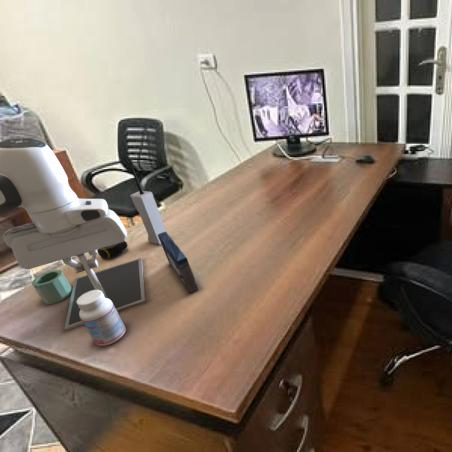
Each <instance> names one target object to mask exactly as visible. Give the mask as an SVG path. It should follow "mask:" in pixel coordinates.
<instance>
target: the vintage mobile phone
mask: <svg viewBox="0 0 452 452" xmlns="http://www.w3.org/2000/svg"><path fill="white" fill-rule="evenodd" d="M130 170H131V172H132V175H133V178H134V180H135V183H136V186H137V188H138V191H136V192H134V193H132V194H130V199H131V201H132V202H133V203H132V204H134V207H135V209H136V211H137V212H138V214H139V216H140V219H141V221H142V224H143V226H144V228H145V231H146V233H147V240H148V242H149V243H150V244H155V245H160V246H162V245H161V242H160V240H159V237H158V234H160V233H163V232H167V229H166V226H165V224H164V221H163V218H162V216H161V214H160V211H159V208H158V205H157V202H156V200H155V197H154V194H153V192H151V191H146V190H143V188H142V186H141V183H140V180H139V179H138V177H137V174H136V172H135V169H134V167H130Z"/></svg>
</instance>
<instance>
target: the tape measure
mask: <svg viewBox="0 0 452 452" xmlns="http://www.w3.org/2000/svg"><path fill="white" fill-rule="evenodd" d="M128 246H129V245H128V243H127V241H126V240H125V241H124V242H120V243H117V244H114V245H110V246H107V247H103V248H100V249H97V254H98V255H99V257H100V258H102V259H110V258H111V259H112V258H114V257H117V256H119V255H121V254H122V253H123V252H124V251H125V250H127V248H128Z"/></svg>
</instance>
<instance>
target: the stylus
mask: <svg viewBox="0 0 452 452" xmlns="http://www.w3.org/2000/svg"><path fill="white" fill-rule="evenodd" d="M75 257H77V259H78V261H79V262H80V263H81V264H82V266H83V268H84V270H85V271H84V272H85V274H86V275H88V277H89V279H90V281H91V283H92V284H93V286H94V288H95V290H100V291H102V293H103V294H104V296H105V298H106V297H107V295H106V293H105V292H104V290H103V288H102V286H101V284H100V282H99V280H98V279H97V277H96V275H95V271H94V268H92V269H90V266H89V265H88V260H89V259H88V258H87V257H86V253H83V254H80V255H76V256H75Z"/></svg>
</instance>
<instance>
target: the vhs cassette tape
mask: <svg viewBox="0 0 452 452" xmlns="http://www.w3.org/2000/svg"><path fill="white" fill-rule="evenodd" d="M158 237H159V240H160V242H161V245H160V246H161V247H162V250H163V252H164V255H165V256H166V259H167V261H168V263H169V265H170V267H171V268H172V271H174V273H175V275H176V277H177V278H178V279H179V281H180V283H181V284H182V285H183V287H184V288H185V290H186V291H187V292H188V294H191V293H194V292H196V291H197V290H199V287H198V284H197V281H196V279H195V276H194V273H193V270H192V268H191V265H190V263H189V260H188V258H187V256H186V255H185V254H184V252H183V251H182V250H181V249H180V247H179V246H178V245H177V244H176V242H175V241H174V240H173V238H172V237H171V236H170V235H169V234H168V232H167V231H166V232H163V233H160V234H158Z"/></svg>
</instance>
